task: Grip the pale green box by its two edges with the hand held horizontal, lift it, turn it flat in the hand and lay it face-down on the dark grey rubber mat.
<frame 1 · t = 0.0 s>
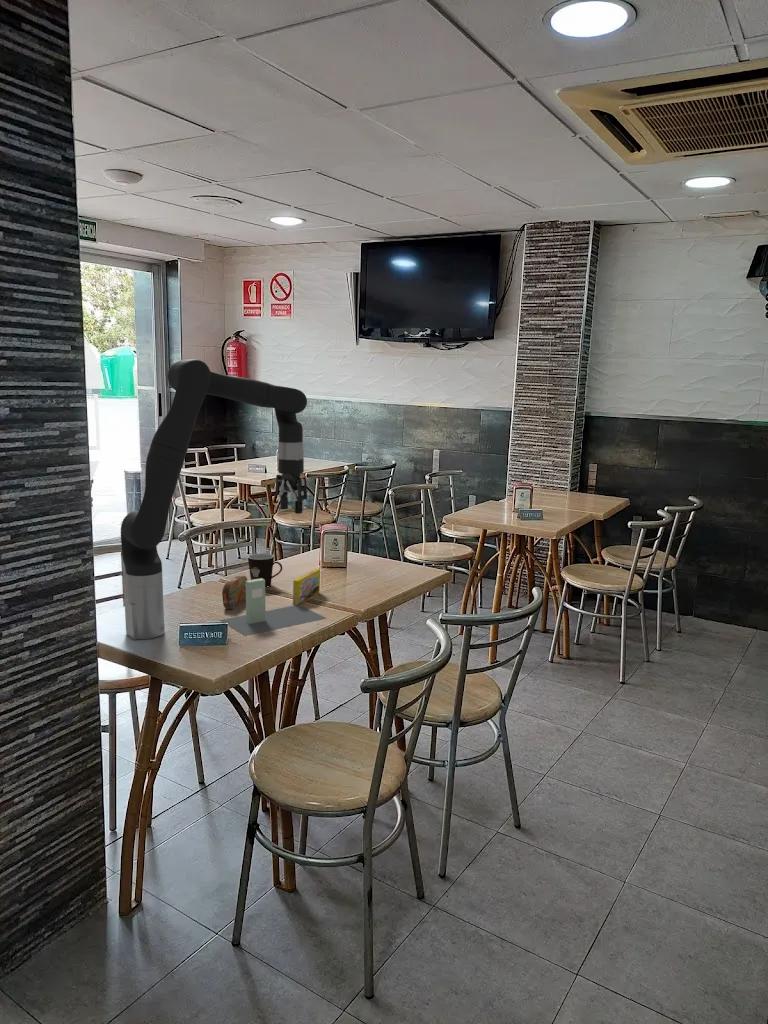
hand: (291, 511, 218), 29 cm above the table, tool pointing down, fingers open, 8 cm apart
coffee mug: (263, 586, 244), on the table
pale green box: (256, 621, 206), point 1 cm above the table, touching mat
tin: (235, 606, 223), on the table
mat: (273, 621, 208), on the table
candy box: (306, 600, 230), on the table
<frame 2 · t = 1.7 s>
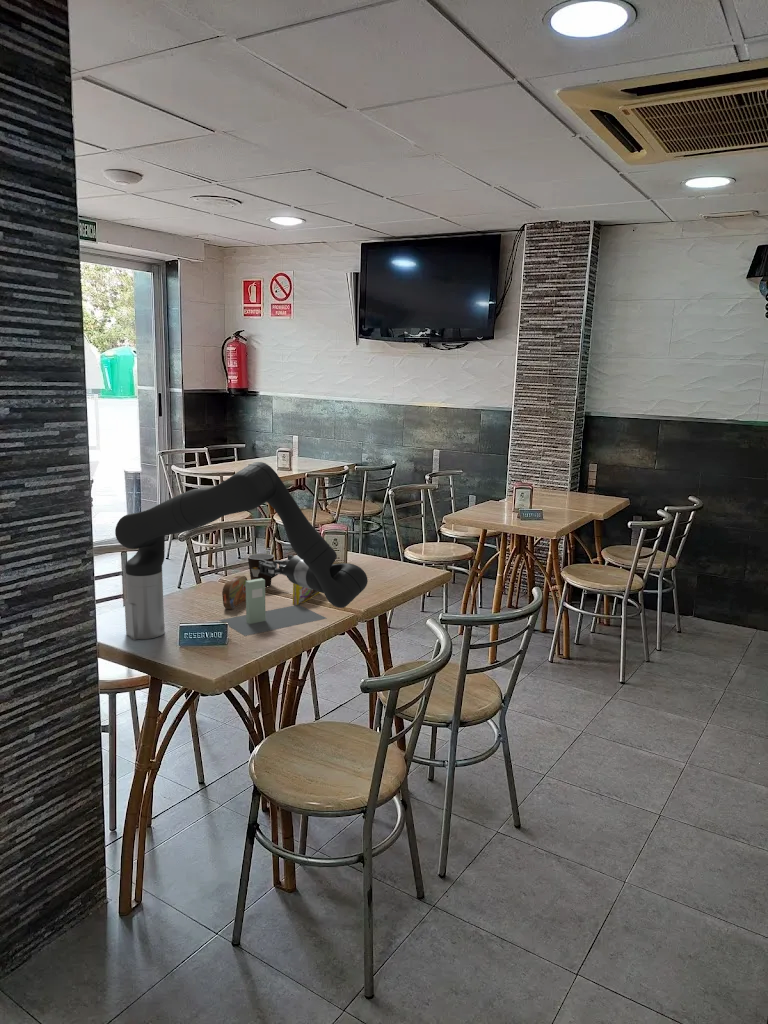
hand: (274, 560, 195), 20 cm above the table, tool horizontal, fingers open, 8 cm apart
nothing on the table moved.
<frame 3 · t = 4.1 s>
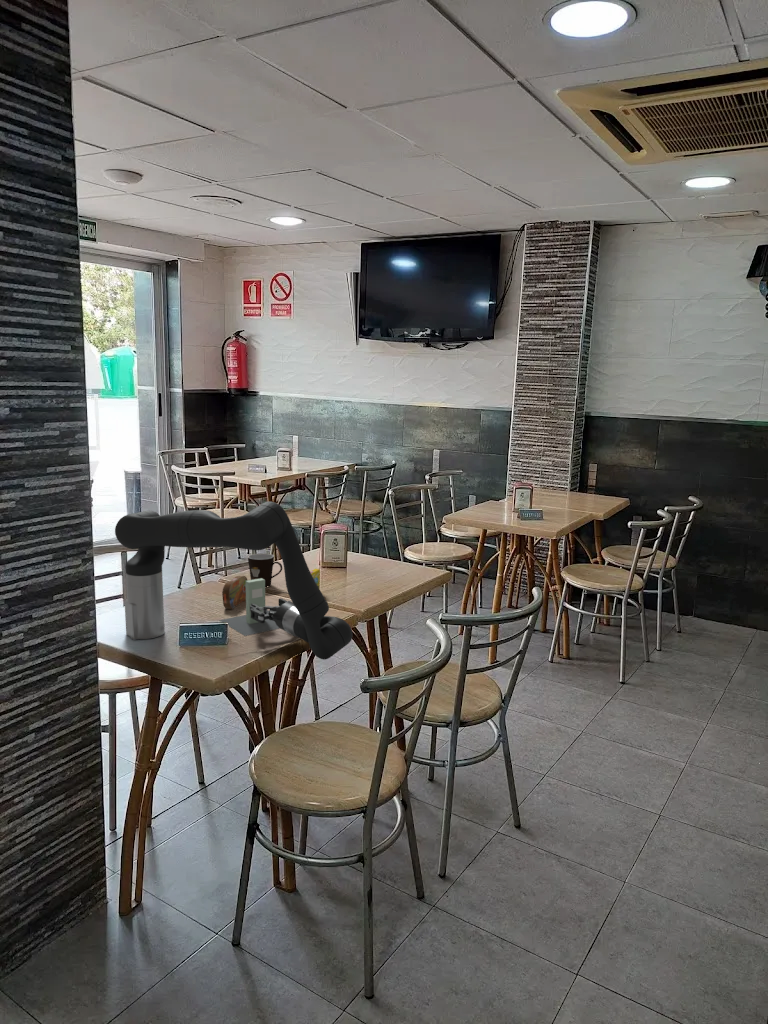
hand: (265, 604, 200), 7 cm above the table, tool horizontal, fingers open, 8 cm apart
nothing on the table moved.
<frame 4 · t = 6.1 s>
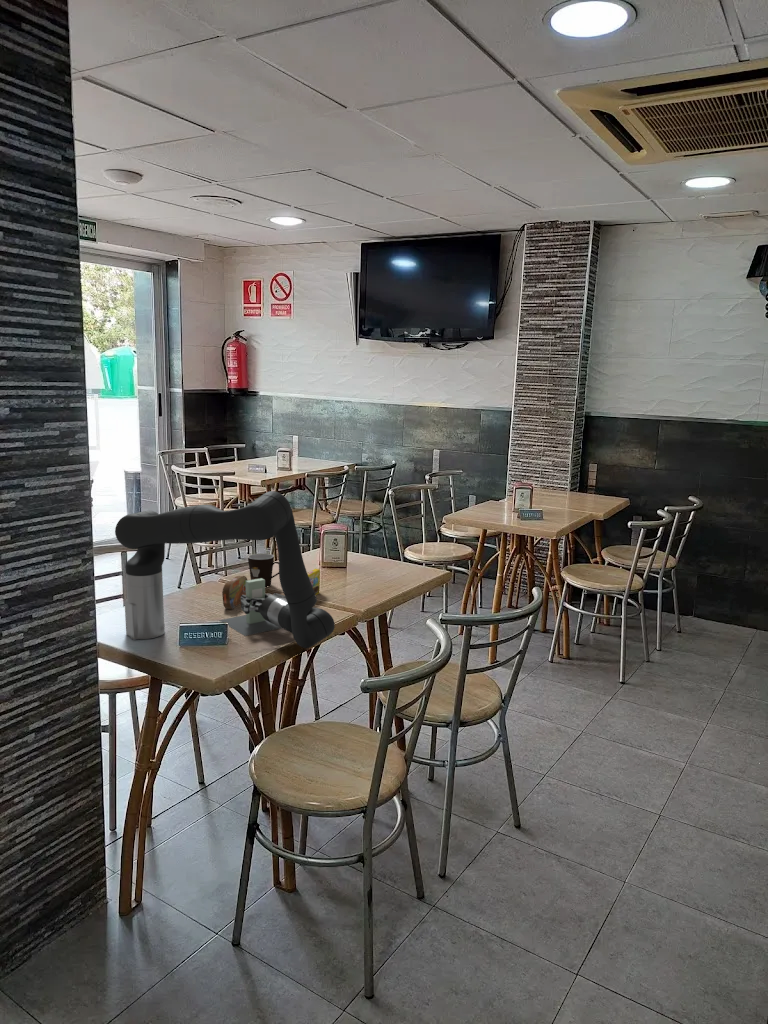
hand: (251, 596, 207), 7 cm above the table, tool horizontal, fingers closed on pale green box, 5 cm apart
pale green box: (256, 621, 206), point 1 cm above the table, touching gripper, mat
everything else where it was.
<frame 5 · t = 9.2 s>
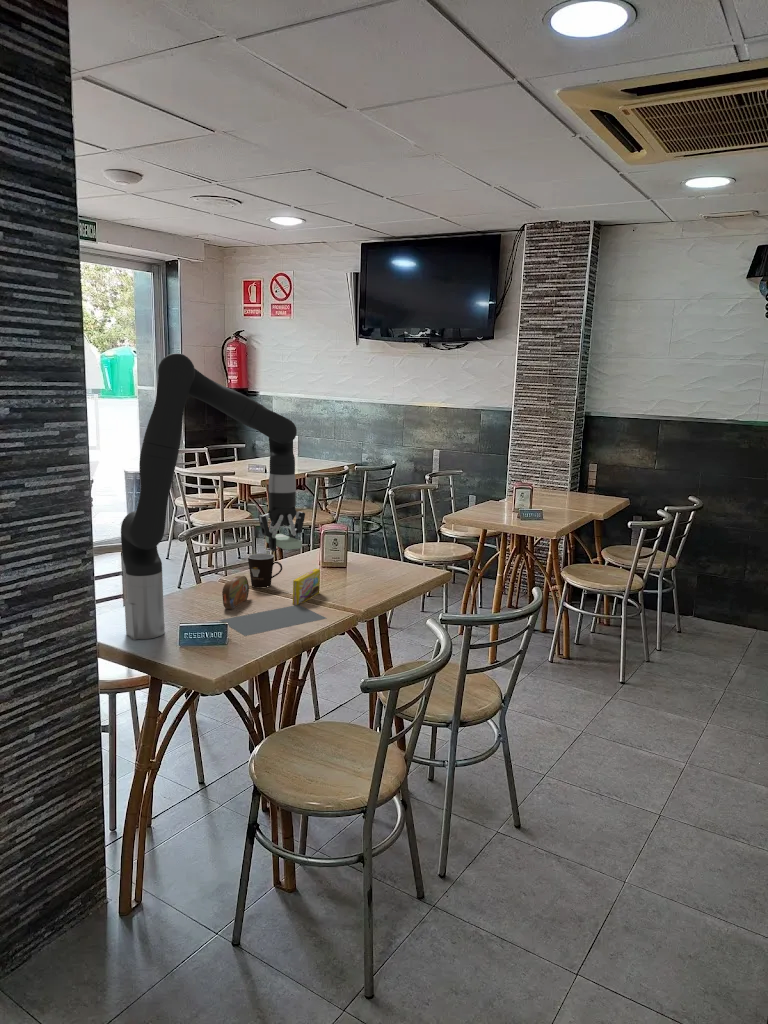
hand: (282, 549, 206), 21 cm above the table, tool pointing down, fingers closed on pale green box, 5 cm apart
pale green box: (293, 545, 200), point 23 cm above the table, tilted 90°, touching gripper
everything else where it was.
when the fingers open (1 cm above the table, at t = 12.3 s): pale green box drops 2 cm, resting on mat.
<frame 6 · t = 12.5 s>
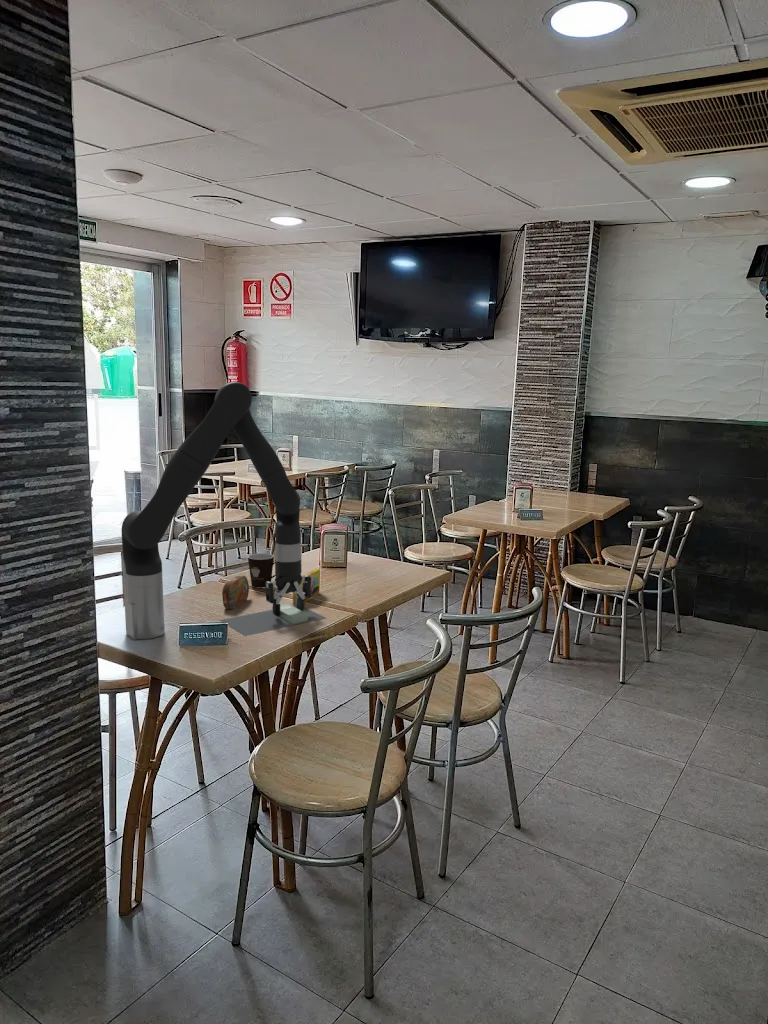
hand: (288, 613, 211), 1 cm above the table, tool pointing down, fingers open, 7 cm apart
pale green box: (300, 618, 206), point 2 cm above the table, tilted 90°, touching mat
everything else where it was.
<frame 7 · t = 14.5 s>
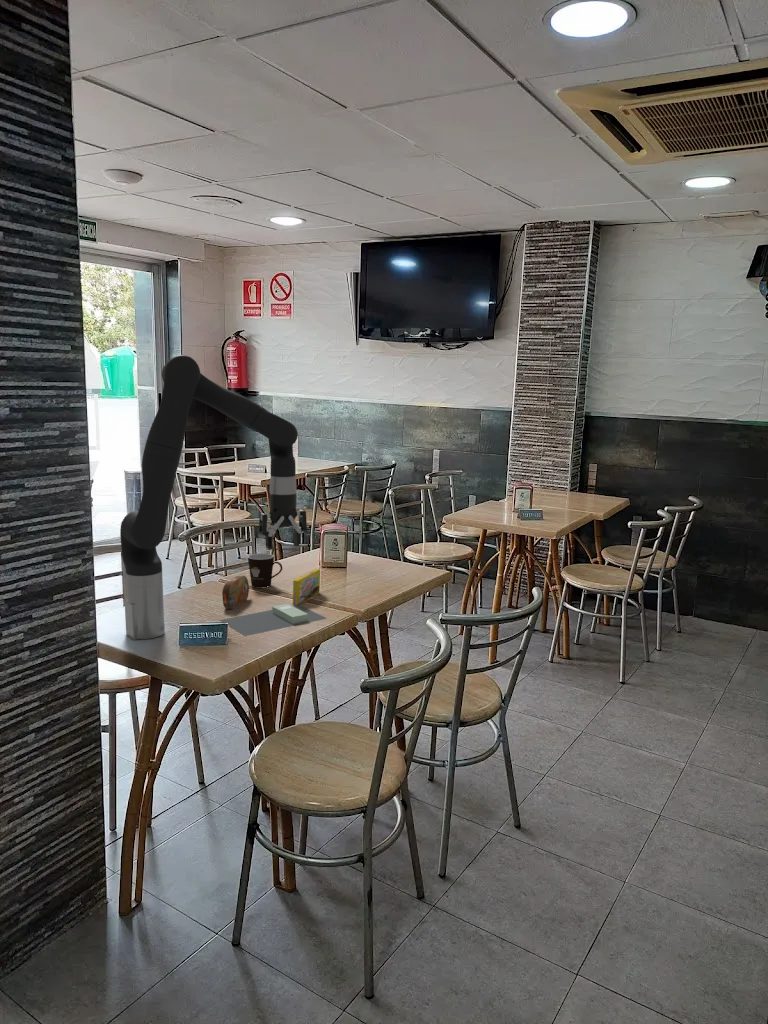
hand: (283, 547, 210), 20 cm above the table, tool pointing down, fingers open, 8 cm apart
nothing on the table moved.
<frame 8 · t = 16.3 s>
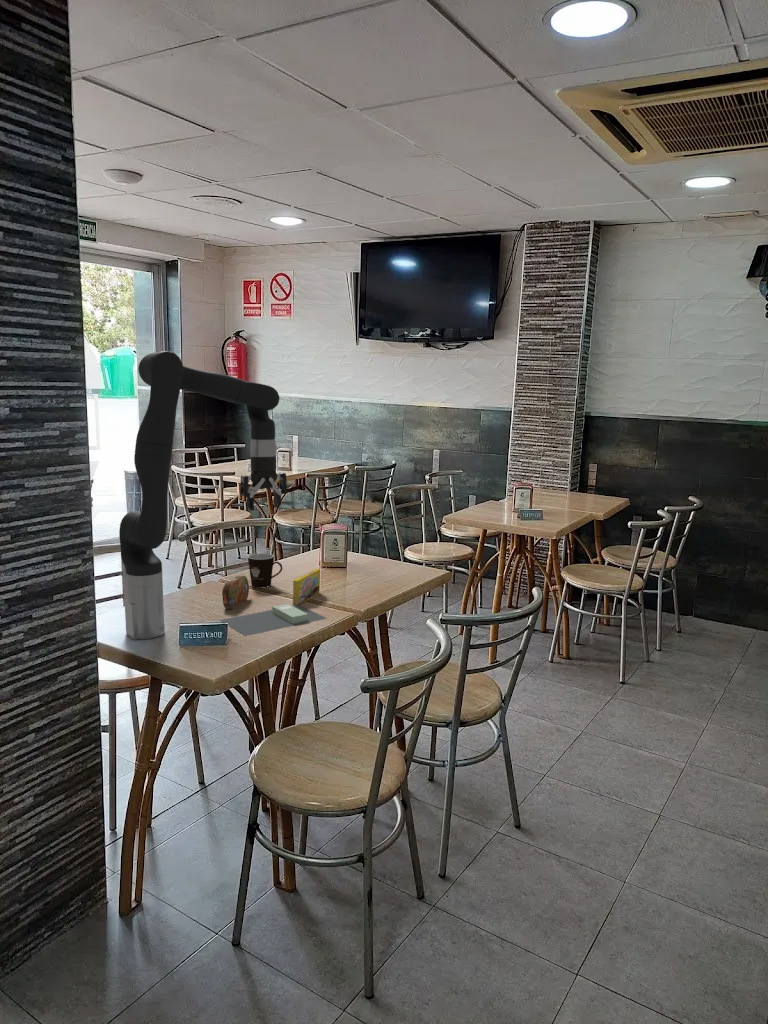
hand: (264, 508, 217), 30 cm above the table, tool pointing down, fingers open, 8 cm apart
nothing on the table moved.
at the end: pale green box tilted 90°; pale green box inside the target area (7.9 cm from its centre), point 1.6 cm above the table; the gripper is holding nothing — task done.
